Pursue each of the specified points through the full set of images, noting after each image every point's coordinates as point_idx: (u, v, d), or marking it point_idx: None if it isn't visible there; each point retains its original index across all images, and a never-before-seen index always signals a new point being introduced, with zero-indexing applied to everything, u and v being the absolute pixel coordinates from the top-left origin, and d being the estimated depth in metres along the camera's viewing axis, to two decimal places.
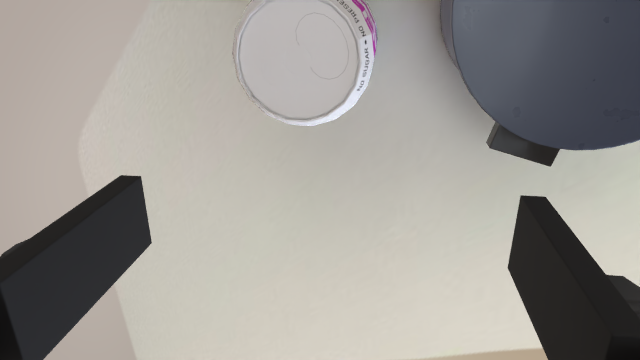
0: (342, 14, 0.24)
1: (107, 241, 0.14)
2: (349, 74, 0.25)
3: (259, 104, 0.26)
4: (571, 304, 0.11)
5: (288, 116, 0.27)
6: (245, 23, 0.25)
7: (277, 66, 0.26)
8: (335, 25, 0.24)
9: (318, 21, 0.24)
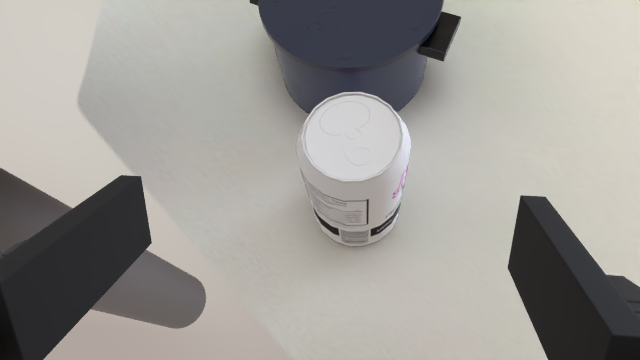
0: (324, 102, 0.33)
1: (107, 241, 0.14)
2: (367, 101, 0.33)
3: (385, 169, 0.30)
4: (571, 304, 0.11)
5: (398, 148, 0.31)
6: (318, 169, 0.31)
7: (355, 151, 0.31)
8: (330, 108, 0.33)
9: (326, 119, 0.32)
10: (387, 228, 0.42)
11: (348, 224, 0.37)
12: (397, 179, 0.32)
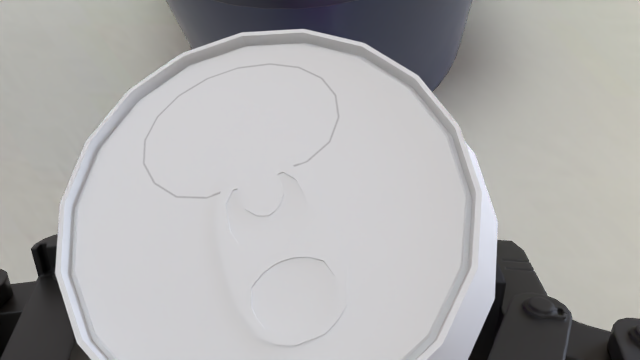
0: (169, 70, 0.09)
1: None
2: (331, 64, 0.09)
3: None
4: None
5: (460, 261, 0.07)
6: None
7: (273, 273, 0.07)
8: (193, 90, 0.09)
9: (170, 131, 0.08)
10: None
11: None
12: None
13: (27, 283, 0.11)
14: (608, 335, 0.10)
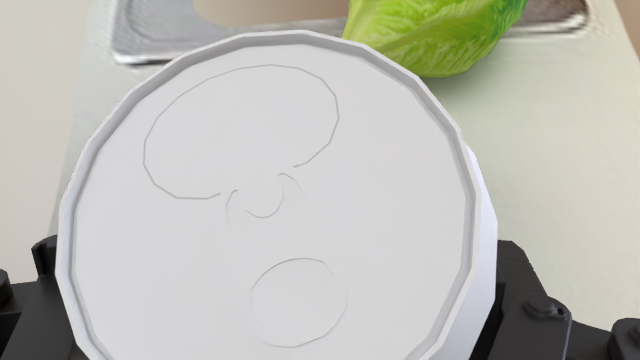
0: (169, 70, 0.09)
1: None
2: (331, 65, 0.09)
3: None
4: None
5: (460, 262, 0.07)
6: None
7: (273, 274, 0.07)
8: (193, 91, 0.09)
9: (170, 132, 0.08)
10: None
11: None
12: None
13: (27, 283, 0.11)
14: (608, 335, 0.10)
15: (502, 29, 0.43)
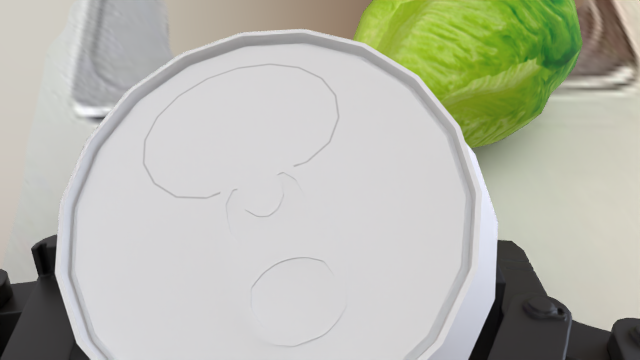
0: (169, 70, 0.09)
1: None
2: (331, 64, 0.09)
3: None
4: None
5: (460, 262, 0.07)
6: None
7: (273, 274, 0.07)
8: (193, 90, 0.09)
9: (170, 131, 0.08)
10: None
11: None
12: None
13: (27, 283, 0.11)
14: (608, 335, 0.10)
15: (545, 101, 0.34)
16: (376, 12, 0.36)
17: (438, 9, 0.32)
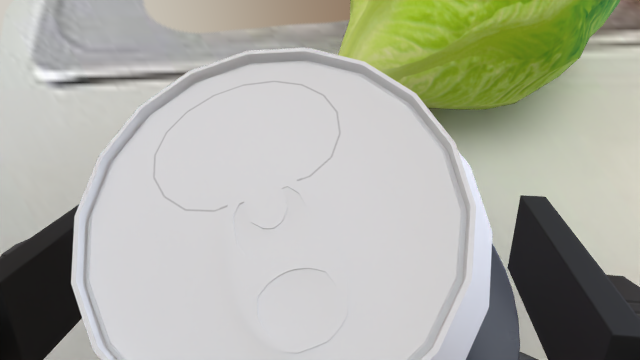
0: (177, 87, 0.09)
1: None
2: (332, 82, 0.09)
3: None
4: (571, 304, 0.11)
5: (455, 272, 0.07)
6: None
7: (278, 284, 0.08)
8: (200, 106, 0.09)
9: (179, 146, 0.09)
10: None
11: None
12: None
13: None
14: None
15: (585, 43, 0.28)
16: None
17: None
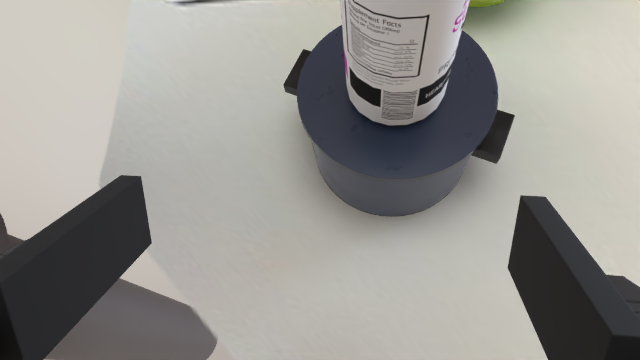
0: None
1: (107, 241, 0.14)
2: None
3: None
4: (571, 304, 0.11)
5: None
6: None
7: None
8: None
9: None
10: (435, 99, 0.36)
11: (396, 75, 0.31)
12: None
13: None
14: None
15: None
16: None
17: None
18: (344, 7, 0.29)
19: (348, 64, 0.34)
